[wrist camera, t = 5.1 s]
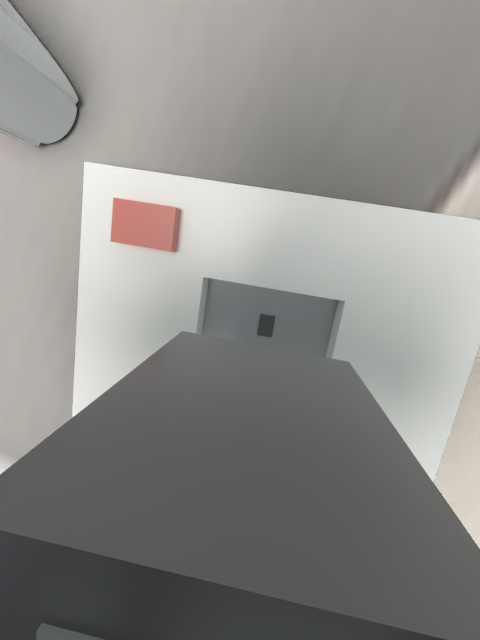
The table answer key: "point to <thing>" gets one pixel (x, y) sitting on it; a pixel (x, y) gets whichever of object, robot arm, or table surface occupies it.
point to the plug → (232, 511)
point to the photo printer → (31, 85)
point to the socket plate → (280, 287)
